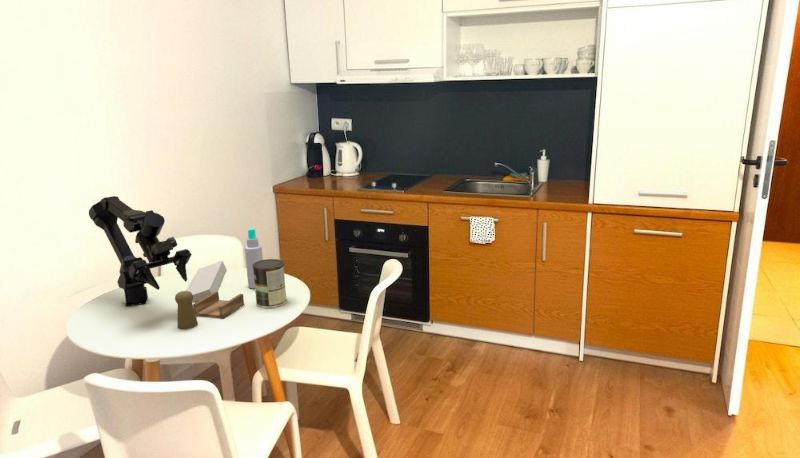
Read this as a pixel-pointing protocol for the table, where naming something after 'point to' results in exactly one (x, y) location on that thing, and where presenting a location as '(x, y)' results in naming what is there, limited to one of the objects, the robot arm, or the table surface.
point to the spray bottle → (252, 255)
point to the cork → (185, 311)
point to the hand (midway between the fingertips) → (172, 284)
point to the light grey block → (207, 281)
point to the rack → (217, 306)
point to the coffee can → (269, 283)
